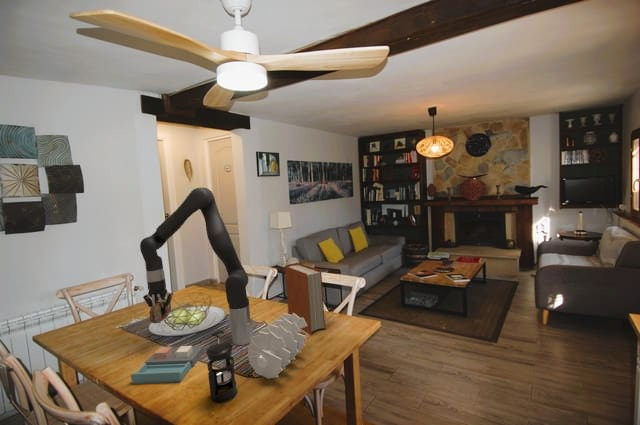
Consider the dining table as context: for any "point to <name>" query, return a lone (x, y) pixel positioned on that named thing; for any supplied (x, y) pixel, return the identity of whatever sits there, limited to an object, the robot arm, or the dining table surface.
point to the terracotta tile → (163, 352)
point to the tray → (160, 373)
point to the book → (305, 295)
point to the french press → (221, 371)
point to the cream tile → (184, 351)
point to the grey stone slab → (172, 358)
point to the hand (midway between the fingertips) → (160, 314)
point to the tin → (158, 313)
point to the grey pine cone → (276, 345)
